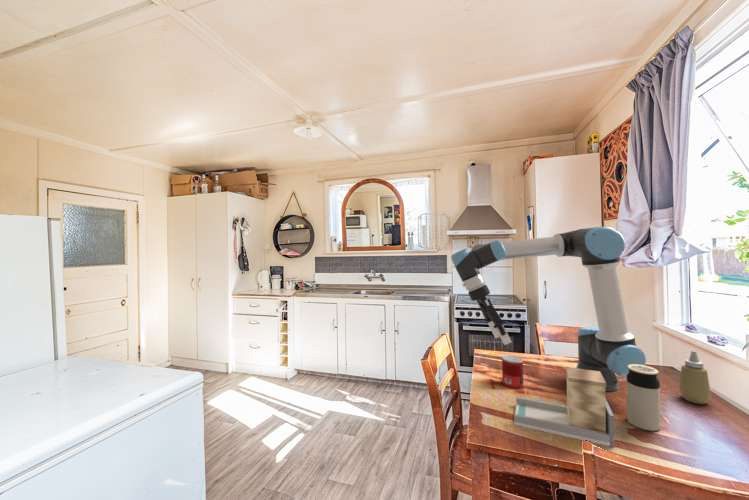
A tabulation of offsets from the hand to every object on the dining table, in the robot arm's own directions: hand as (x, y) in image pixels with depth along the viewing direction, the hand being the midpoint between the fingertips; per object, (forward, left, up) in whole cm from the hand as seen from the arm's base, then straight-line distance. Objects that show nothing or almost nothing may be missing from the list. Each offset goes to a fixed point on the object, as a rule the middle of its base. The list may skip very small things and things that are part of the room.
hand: (503, 340), depth 115 cm
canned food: (-8, -15, -23) cm, 28 cm away
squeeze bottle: (-69, -7, -23) cm, 73 cm away
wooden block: (-20, +16, -22) cm, 34 cm away
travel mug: (-40, +11, -23) cm, 47 cm away
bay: (-14, +13, -23) cm, 30 cm away
